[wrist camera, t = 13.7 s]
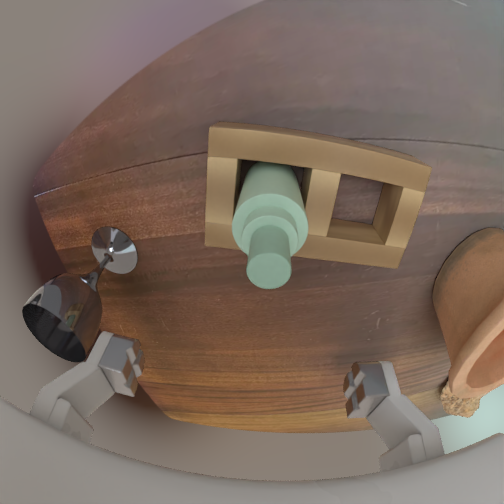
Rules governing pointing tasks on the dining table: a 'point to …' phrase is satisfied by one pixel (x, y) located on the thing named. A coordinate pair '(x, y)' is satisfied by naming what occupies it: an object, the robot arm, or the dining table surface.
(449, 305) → the pottery
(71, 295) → the wine glass
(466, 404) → the rough tan rock
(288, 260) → the bottle
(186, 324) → the dining table surface
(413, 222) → the hollow wooden block
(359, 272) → the dining table surface
